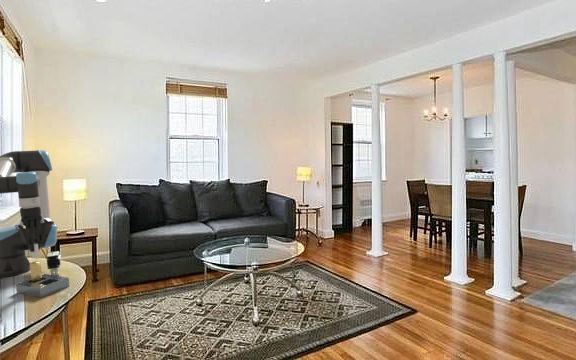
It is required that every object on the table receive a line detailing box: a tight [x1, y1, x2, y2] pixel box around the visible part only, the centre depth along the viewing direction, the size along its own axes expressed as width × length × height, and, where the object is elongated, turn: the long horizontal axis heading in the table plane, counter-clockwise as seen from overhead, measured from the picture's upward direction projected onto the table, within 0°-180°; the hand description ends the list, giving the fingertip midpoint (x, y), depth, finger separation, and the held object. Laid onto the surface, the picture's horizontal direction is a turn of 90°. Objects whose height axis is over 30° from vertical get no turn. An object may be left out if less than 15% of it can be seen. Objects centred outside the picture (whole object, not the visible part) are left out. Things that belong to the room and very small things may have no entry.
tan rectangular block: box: [29, 260, 43, 283], centre depth 163 cm, size 4×4×12 cm
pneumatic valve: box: [46, 250, 63, 276], centre depth 180 cm, size 6×12×12 cm, turn 28°
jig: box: [15, 273, 70, 298], centre depth 162 cm, size 16×13×4 cm
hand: (35, 257), depth 163 cm, fingers closed
